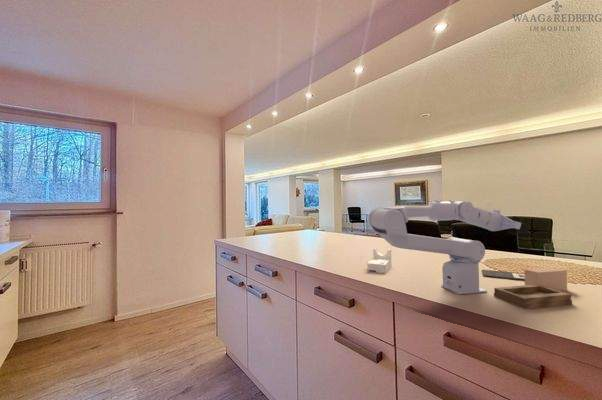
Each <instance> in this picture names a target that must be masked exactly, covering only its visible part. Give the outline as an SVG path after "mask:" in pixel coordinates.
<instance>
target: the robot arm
mask: <svg viewBox="0 0 602 400" xmlns="http://www.w3.org/2000/svg"><path fill="white" fill-rule="evenodd" d="M424 217H425V218H428V219H429V220H430V221H434V222H436V221H437V222H439V221H453V220H455V221H461V222H465V224H469V225H473V226H476V227H478V228H480V229H481V230H486V231H487V230H488V231H490V232H499V231H503V230H507V232H506V234H507V235H512V236H515V235H518V234H524V235H525V234H526V235H527V234H528V233H529V231H530V226H528V225H527V224H525V223H524V222H523V221H522V218H521V217H519V216H512V218H509V217H507V216H505V215H504V214H501V210H500V209H495V208H494V209H493V210H492V211H491V210H488V209H484V208H482V207H479V206H475V205H474V204H473V203H472V202H471V201H455V200H453V199H452V200H451V199H449V200H448V201H442V200H440V199H434V200H433V201H431V202H429V203H428V204H427V205H425V206H424V205H423V206H418V205H416V206H414V205H411V206H410V205H397V206H396V205H395V206H388V207H383V208H382V209H381V208H375V209H373V210H372V211H371V212H370V213H369V215H368V222H369V225H370V228H371V229H372V231H373V232H374V233H376V234H377V235H379V236H380V237H381V238H382V239H383V240H385V242H387V243H388V244H389V245H391V247H395V248H398V249H404V250H409V251H411V250H412V251H421V252H427V253H434V254H443V255H448V257H449V259H450V260H448V261H444V262H443V263H442V284H441V287H442V288H444V289H447V290H449V291H451V292H453V293H456V294H458V295H465V294H466V295H467V294H478V293H487V292H488V290H487V289H484V288H482V287H480V267H479V266H480V264H479V263H482V260H483V259H484V257H485V255H486V246H484V243H482V241H480V240H474V239H473V240H472V239H466V238H459V237H457V236H456V237H455V236H451V237H449V238H440V237H433V236H426V235H419V234H412V233H408V230H407V223H408V222H409V219H410V218H424Z"/></svg>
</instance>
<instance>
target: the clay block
mask: <svg viewBox="0 0 602 400" xmlns="http://www.w3.org/2000/svg"><path fill="white" fill-rule="evenodd" d="M523 270H524V274H525V281H524V285H535V284H537V285H540V286H544V287H547V288H551V289H554V290H557V291H561V292H564V291H568V277H567V276H568V275H567V270H566V269H562V268H557V267H538V268H537V267H536V268H535V267H534V268H525V269H523Z"/></svg>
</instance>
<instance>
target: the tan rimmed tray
mask: <svg viewBox="0 0 602 400" xmlns="http://www.w3.org/2000/svg"><path fill="white" fill-rule="evenodd" d="M493 290H494V291H493V297H495V298H497V299H499V300H501V301H505V302H507V303H510V304H512V305H514V306H518V307H519V308H522V309H525V310H526V309H527V310H528V309H538V308H549V307H550V308H551V307H561V306H568V305H573V300H572V298H571V297H572V296H571V295H572V294H571V293H567V292H564V291H557V290H554V289H551V288H547V287H544V286H540V285H537V284H535V285H525V284H524V285H513V286H512V285H511V286H501V287H500V286H498V287H494V289H493Z"/></svg>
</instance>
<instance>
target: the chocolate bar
mask: <svg viewBox="0 0 602 400" xmlns="http://www.w3.org/2000/svg"><path fill="white" fill-rule="evenodd" d="M481 272H482V277H484V278H485V277H486V278H490V279H491V278H492V279H502V280H504V279H505V280H513V281H522V282H525V273H522V272H512V271H511V272H510V271H504V270H503V271H501V270H500V271H499V270H490V269H481Z"/></svg>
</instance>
